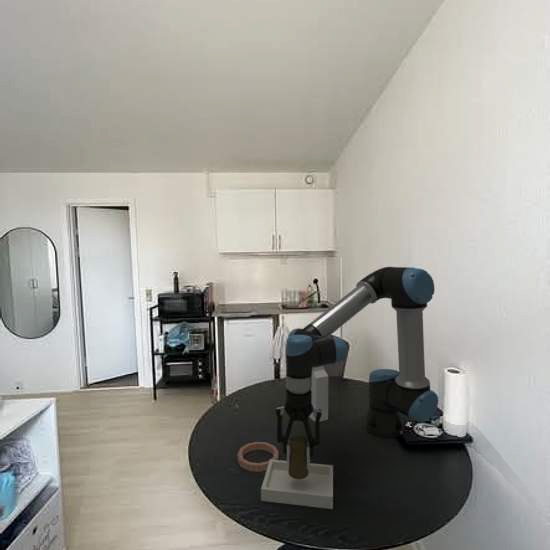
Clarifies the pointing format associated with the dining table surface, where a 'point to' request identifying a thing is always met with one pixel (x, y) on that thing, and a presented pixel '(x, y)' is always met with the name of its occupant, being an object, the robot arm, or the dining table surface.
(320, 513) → the dining table surface
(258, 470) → the ring
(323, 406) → the milk
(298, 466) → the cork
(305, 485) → the tray
